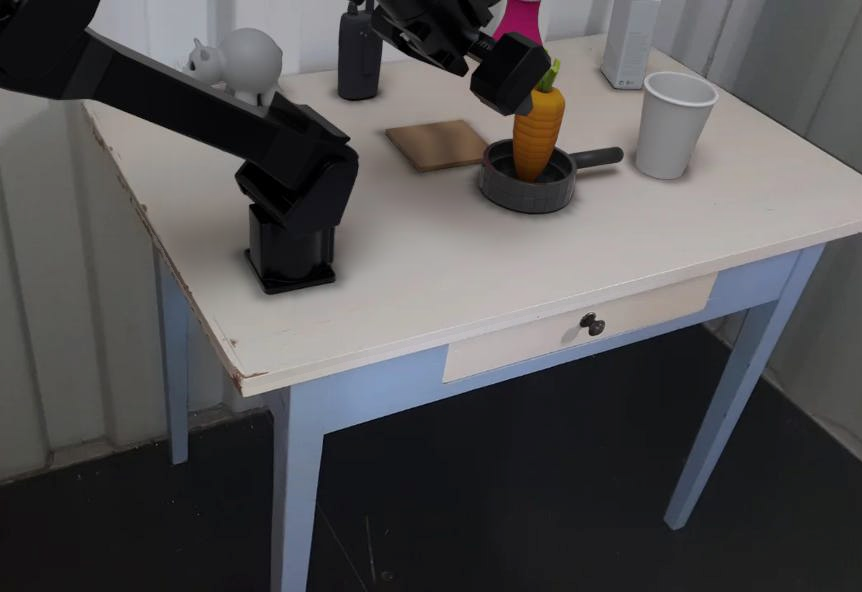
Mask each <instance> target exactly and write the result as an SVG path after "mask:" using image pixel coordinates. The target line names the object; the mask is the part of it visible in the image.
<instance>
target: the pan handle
mask: <svg viewBox="0 0 862 592" xmlns="http://www.w3.org/2000/svg"><path fill="white" fill-rule="evenodd" d="M567 154H568V155H570V156H571V157H572V158H573V160H574V161H575V163H576V166H577V170H582V169H587V168H594V167H602V166H606V165H612V164H619V163H620V162H622V161H623V160H624V157H625V152H624V150H623V149H622V148H621V147H619V146H610V147H604V148H597V149H592V150H585V151H577V152H572V153H571V152H570V153H567Z"/></svg>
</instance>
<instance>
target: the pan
mask: <svg viewBox="0 0 862 592" xmlns="http://www.w3.org/2000/svg"><path fill="white" fill-rule="evenodd" d="M488 145H489V146H487V147H486V149H485V150H484V152H483V157H482V163H480V169H479V170H480V172H479V177H478V186H479V188H480V190H481V191H482V193H483V194H484V195H485V196H486V197H487V198H488V199H490V200H492V201H493V202H495V203H496V204H497V205H500V206H502V207H505V208H506V209H509V210H513V211H517V212H521V213H530V214H542V213H549V212H554V211H558V210H559V209H562V208H564V207H565V206H566V205H567V204H569V202H570V200H571V198H572V195H573V190H574V187H575V181H576V177H577V172H578V169H577V166H576V163H575V161H574V160H573V158H572V157H571V156H570V155H568V154H569V153H568V152H566V151H565V150H563V149H561V148H559V147H557V146H556V145H555V146H554V149H553V151H552V154H551V156H550V158H549V161H548V163H547V165H546V167H545V168H544V170H543V171H542V173H541V174H540V176H539V177H538V178H537V179H536V180H535V181H534V183H532V182H525V181H521V180H519V177H518V174H517V171H516V167H515V162H514V156H513V137H512V138H504V139H499V140H497V141H494V142H492V143H490V144H488Z"/></svg>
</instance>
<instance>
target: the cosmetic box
mask: <svg viewBox="0 0 862 592" xmlns="http://www.w3.org/2000/svg"><path fill="white" fill-rule="evenodd" d="M661 5H662V0H613V4H612V10H611V15H610V20H609V26H608V30H607V37H606V42H605V46H604V47H605V48H604V52H603V57H602V63H601V69H600V71H601V72H602V74H603V75H604V76H605V77H606V79H607V80H608V82H610V84H611V85H612V87H613V88H615V89H619V90H641V89H642V88H643V86H644V80H645V76H646V71H647V66H648V62H649V57H650V54H651V49H652V45H653V40H654V35H655V31H656V26H657V23H658V18H659V12H660V10H661Z"/></svg>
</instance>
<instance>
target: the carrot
mask: <svg viewBox="0 0 862 592" xmlns="http://www.w3.org/2000/svg"><path fill="white" fill-rule="evenodd" d="M545 50H546V51H547V53H548V54H549V50H548V48H545ZM561 64H562V62H561V60H560V59H559V58H554V60H553V64H552V67H551V68H550V69H549V70H548V71H547V72H546V74H545V75H544V76H543V78H542V79H541V80H540V81H539V83H538V84H537V85H536V86H535V88H534V89H533V90H532V91H531V93H532V101H533V110H532V111H531V112H530V113H529V115H528V116H527V117H525V116H520V115H516V114H514V117H513V125H512V138H513V156H514V162H515V167H516V171H517V174H518V177H519V180H521V181H525V182H532V183H534V181H535V180H536V179H537V178H538V177H539V176H540V174H541V173H542V171H543V170H544V168H545V167H546V165H547V163H548V161H549V158H550V156H551V154H552V151H553V149H554V146H555V147H556V144H557V140H558V137H559V134H560V130H561V126H562V122H563V118H564V114H565V110H566V99H565V97H564V96H563V94H562V92H561V91H560V89H559V88H557V87H554V86H553V85H554V83H555V81H556V79H557V76H558V75H559V71H560V68H561Z"/></svg>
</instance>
